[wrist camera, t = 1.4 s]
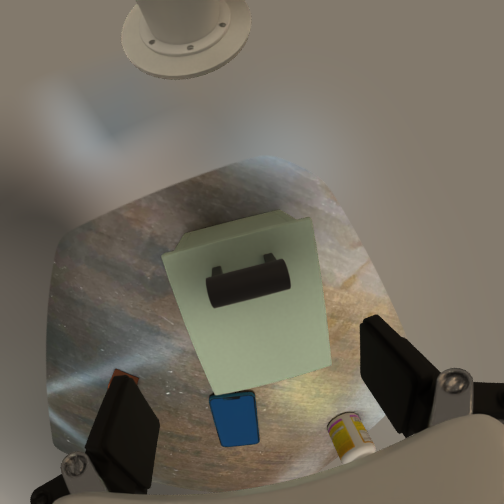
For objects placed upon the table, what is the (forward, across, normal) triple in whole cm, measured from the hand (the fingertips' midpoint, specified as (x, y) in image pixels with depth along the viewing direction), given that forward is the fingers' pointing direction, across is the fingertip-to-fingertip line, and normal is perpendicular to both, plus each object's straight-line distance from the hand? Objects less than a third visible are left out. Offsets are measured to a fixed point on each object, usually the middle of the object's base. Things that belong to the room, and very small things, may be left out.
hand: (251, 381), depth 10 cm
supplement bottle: (+25, -12, +41) cm, 49 cm away
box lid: (+13, -1, +4) cm, 14 cm away
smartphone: (+25, +7, +31) cm, 40 cm away
